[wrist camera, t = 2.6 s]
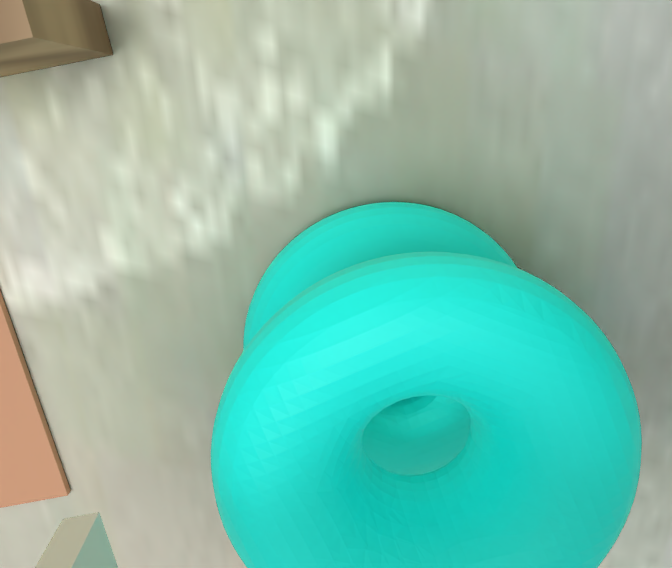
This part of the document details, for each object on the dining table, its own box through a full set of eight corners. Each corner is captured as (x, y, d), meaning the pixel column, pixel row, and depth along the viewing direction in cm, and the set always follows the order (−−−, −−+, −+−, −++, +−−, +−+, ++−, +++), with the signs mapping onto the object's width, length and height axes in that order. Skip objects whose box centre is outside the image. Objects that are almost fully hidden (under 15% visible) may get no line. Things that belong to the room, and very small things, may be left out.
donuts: (113, 392, 13) (587, 188, 12) (200, 266, 22) (465, 148, 21) (318, 735, 15) (717, 588, 15) (317, 491, 25) (557, 394, 24)
